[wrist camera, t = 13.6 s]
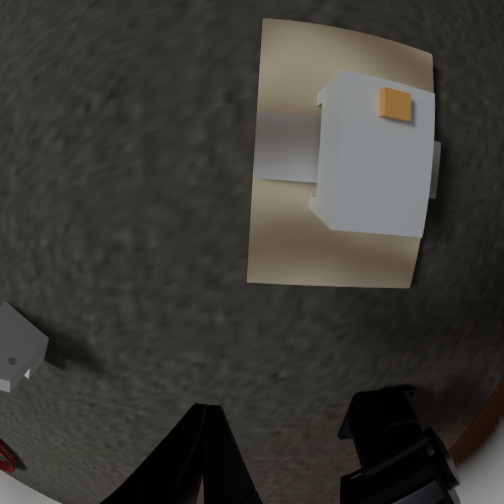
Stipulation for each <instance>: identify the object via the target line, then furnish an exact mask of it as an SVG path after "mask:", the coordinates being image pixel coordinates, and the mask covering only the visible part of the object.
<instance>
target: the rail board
mask: <svg viewBox="0 0 504 504" xmlns="http://www.w3.org/2000/svg"><path fill="white" fill-rule="evenodd" d="M342 70H345V71H350V72H355V73H360V74H365V75H369V76H374V77H378V78H382V79H386V80H390V81H394V82H398V83H401V84H405V85H408V86H412V87H415V88H418V89H422V90H425V91H428V92H431V93H434V86H433V62H432V54H429V53H427V52H424V51H421V50H418V49H416V48H413V47H410V46H407V45H404V44H400V43H397V42H394V41H391V40H387V39H384V38H380V37H376V36H372V35H368V34H364V33H360V32H356V31H351V30H347V29H342V28H337V27H331V26H326V25H319V24H313V23H306V22H298V21H289V20H279V19H267V18H263V26H262V41H261V57H260V72H259V88H258V104H257V120H256V136H255V153H254V169H253V186H252V203H251V219H250V236H249V254H248V271H247V282H251V283H269V284H290V285H313V286H340V287H374V288H410V285H411V281H412V277H413V272H414V268H415V264H416V259H417V254H418V249H419V244H420V239H421V238H420V237H410V236H399V235H387V234H375V233H363V232H351V231H337V230H331V229H330V228H329V227H328V226H327V225H326V224H325V223H324V222H323V221H322V220H321V219H320V218H319V217H318V216H317V215H316V214H314V213H313V212H312V211H311V210H310V201H311V195H316V188H317V176H318V163H319V149H320V134H321V116H322V107H318V106H317V96H318V92H319V91H320V90H321V89H323V88H324V87H325V86H326V85H327V84H328V83H329V82H330V81H331V80H332V79H333V78H334V77H335V76H337V75H338V74H339V73H340V72H341V71H342ZM440 150H441V143H440V142H437V141H434V147H433V161H432V172H431V182H430V190H429V198H432V199H436V191H437V183H438V174H439V163H440Z"/></svg>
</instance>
